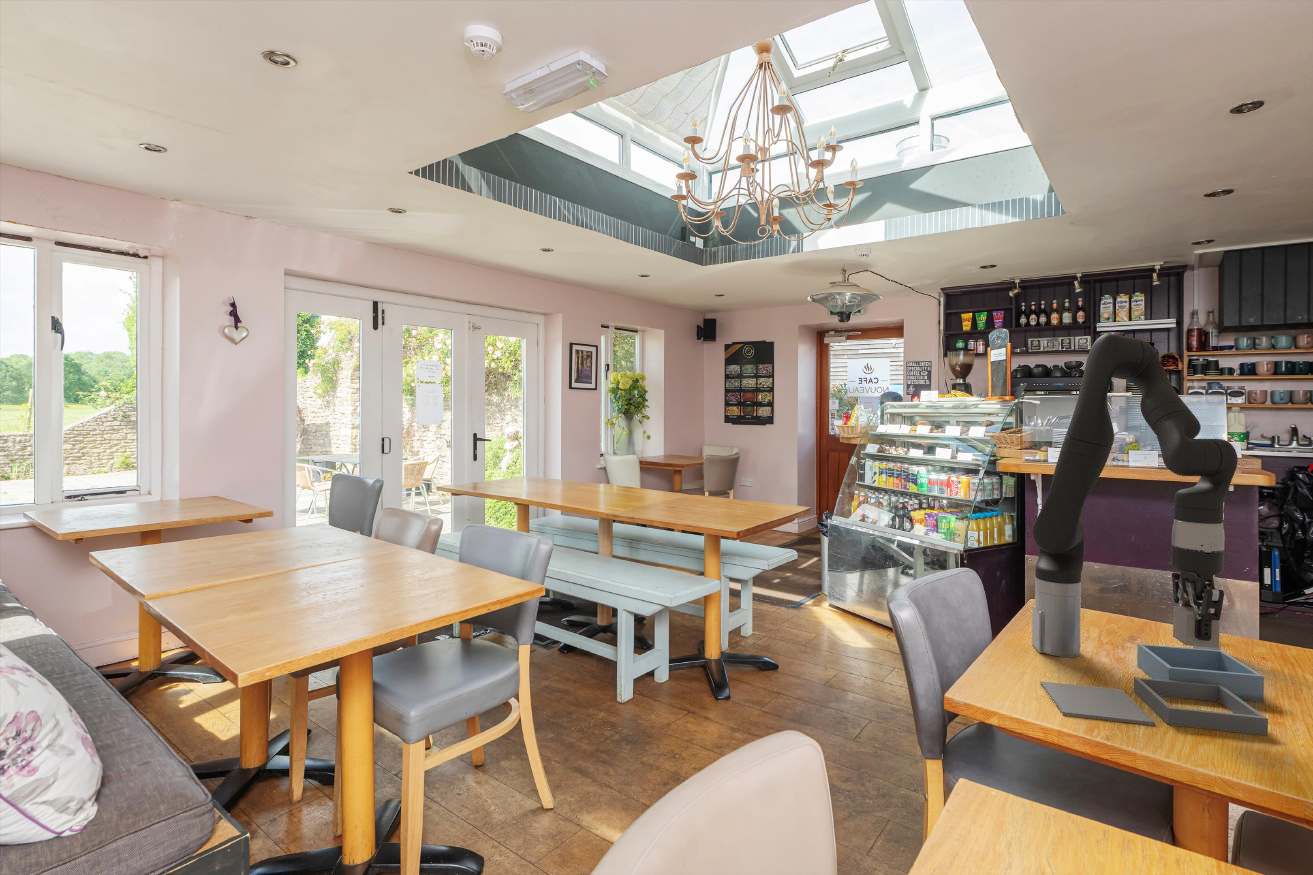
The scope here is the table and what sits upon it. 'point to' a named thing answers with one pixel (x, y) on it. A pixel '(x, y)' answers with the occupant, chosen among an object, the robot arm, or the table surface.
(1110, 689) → the bin lid
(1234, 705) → the gray square frame
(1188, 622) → the stone block
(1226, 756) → the table surface
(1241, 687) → the slate blue bin
